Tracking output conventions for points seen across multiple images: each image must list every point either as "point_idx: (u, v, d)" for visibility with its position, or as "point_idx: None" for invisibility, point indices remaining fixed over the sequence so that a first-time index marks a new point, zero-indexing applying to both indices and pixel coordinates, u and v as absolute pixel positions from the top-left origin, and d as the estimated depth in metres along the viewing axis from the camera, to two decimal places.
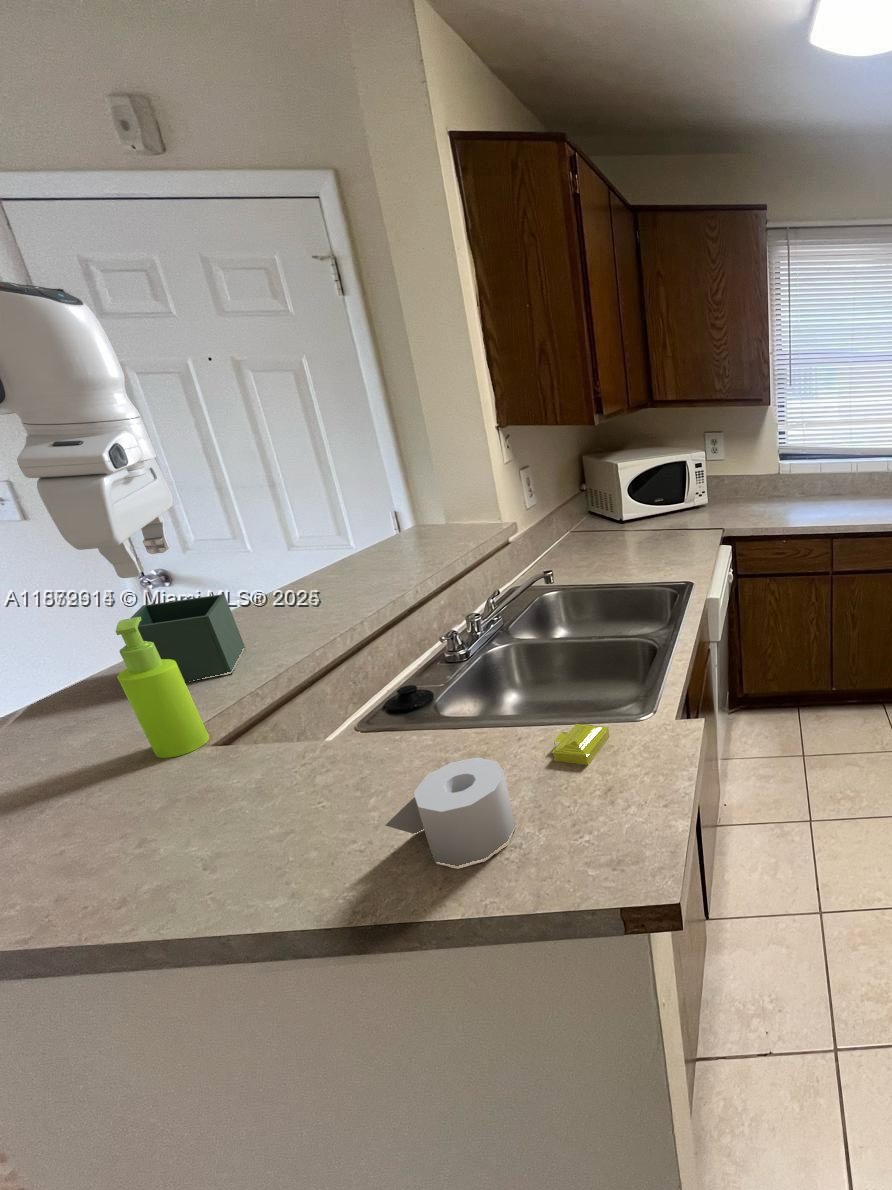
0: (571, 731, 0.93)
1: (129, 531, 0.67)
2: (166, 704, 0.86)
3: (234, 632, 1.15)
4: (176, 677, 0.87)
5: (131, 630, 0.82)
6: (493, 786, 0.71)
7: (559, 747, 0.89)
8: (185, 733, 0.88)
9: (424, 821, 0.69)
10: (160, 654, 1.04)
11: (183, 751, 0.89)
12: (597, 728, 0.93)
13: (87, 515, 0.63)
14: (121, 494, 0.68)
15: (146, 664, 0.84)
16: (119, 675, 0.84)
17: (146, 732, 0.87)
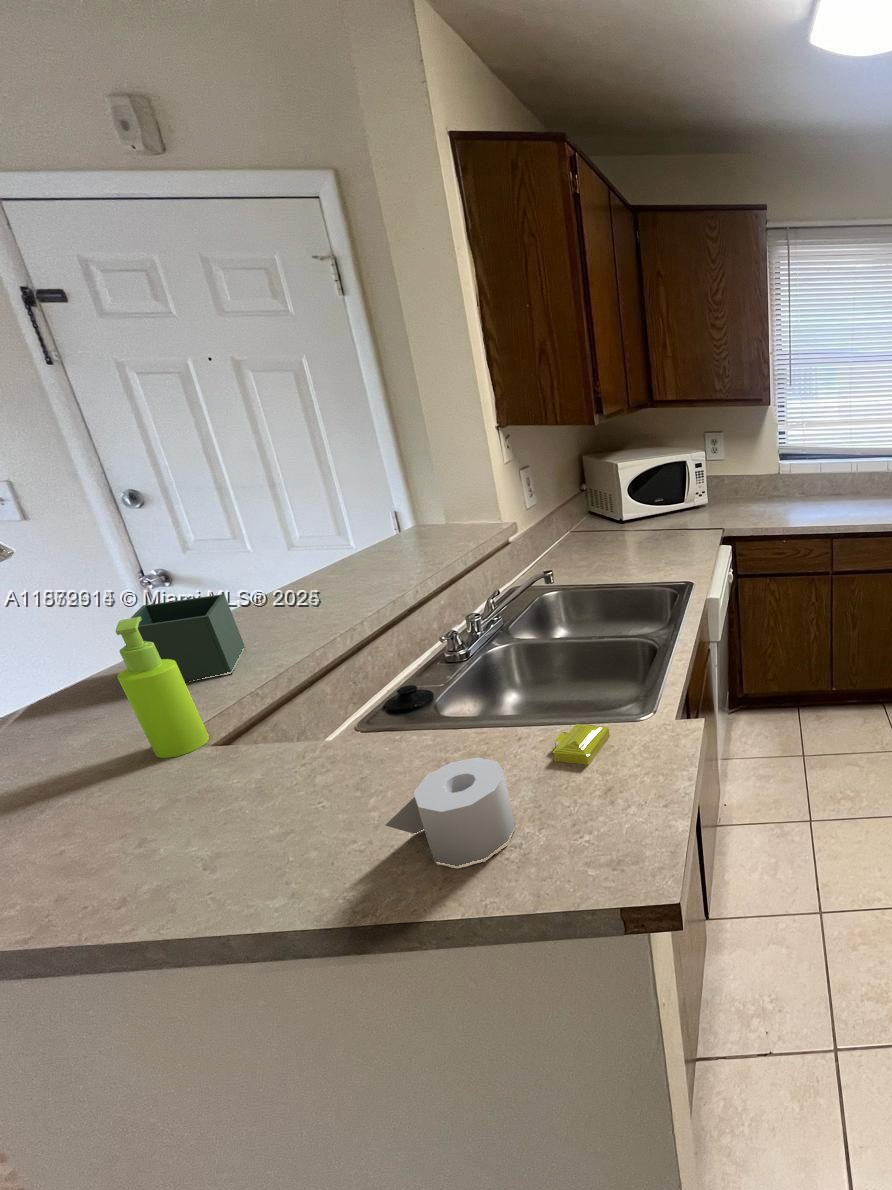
0: (571, 731, 0.93)
1: None
2: (166, 704, 0.86)
3: (234, 632, 1.15)
4: (176, 677, 0.87)
5: (131, 630, 0.82)
6: (493, 786, 0.71)
7: (559, 747, 0.89)
8: (185, 733, 0.88)
9: (424, 821, 0.69)
10: (160, 654, 1.04)
11: (183, 751, 0.89)
12: (597, 728, 0.93)
13: None
14: None
15: (146, 664, 0.84)
16: (119, 675, 0.84)
17: (146, 732, 0.87)
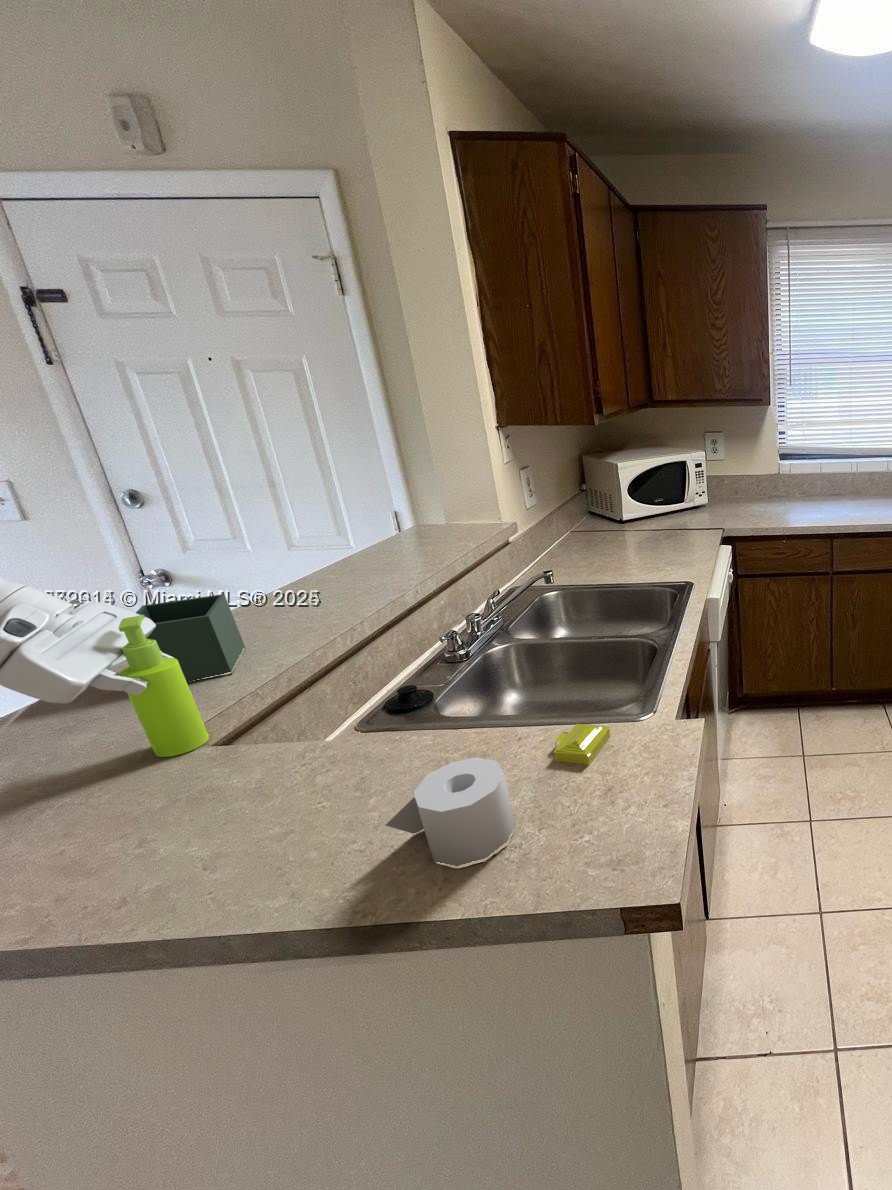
0: (572, 731, 0.93)
1: (92, 669, 0.79)
2: (166, 702, 0.86)
3: (234, 632, 1.15)
4: (177, 675, 0.87)
5: (134, 627, 0.83)
6: (493, 786, 0.71)
7: (560, 747, 0.89)
8: (185, 732, 0.88)
9: (424, 821, 0.69)
10: None
11: (183, 750, 0.89)
12: (598, 728, 0.93)
13: (38, 679, 0.74)
14: (68, 647, 0.79)
15: (148, 662, 0.85)
16: (121, 672, 0.84)
17: (146, 730, 0.87)
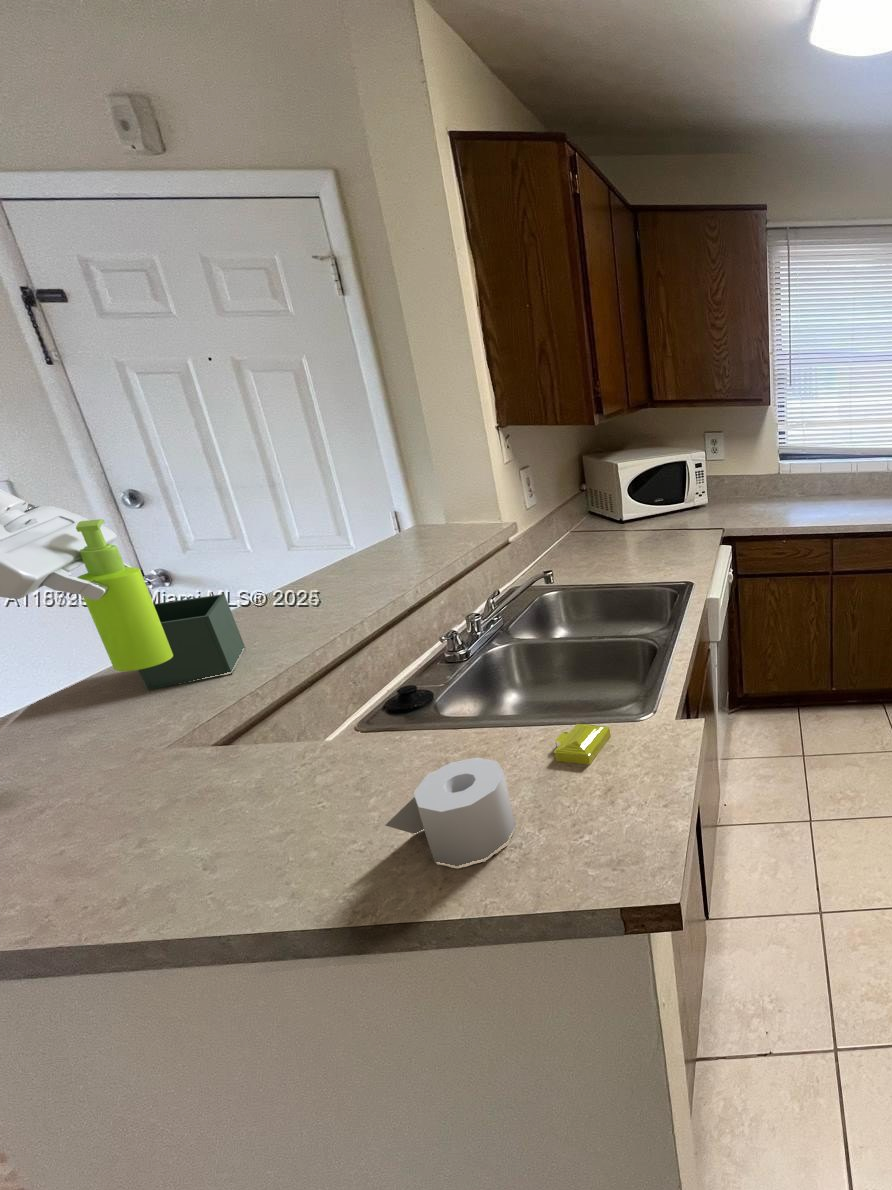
0: (572, 731, 0.93)
1: (46, 566, 0.74)
2: (127, 611, 0.81)
3: (234, 632, 1.15)
4: (139, 583, 0.82)
5: (93, 528, 0.78)
6: (493, 786, 0.71)
7: (560, 747, 0.89)
8: (146, 645, 0.84)
9: (424, 821, 0.69)
10: None
11: (144, 665, 0.84)
12: (598, 728, 0.93)
13: None
14: (19, 543, 0.74)
15: (108, 566, 0.80)
16: (78, 577, 0.79)
17: (105, 642, 0.82)
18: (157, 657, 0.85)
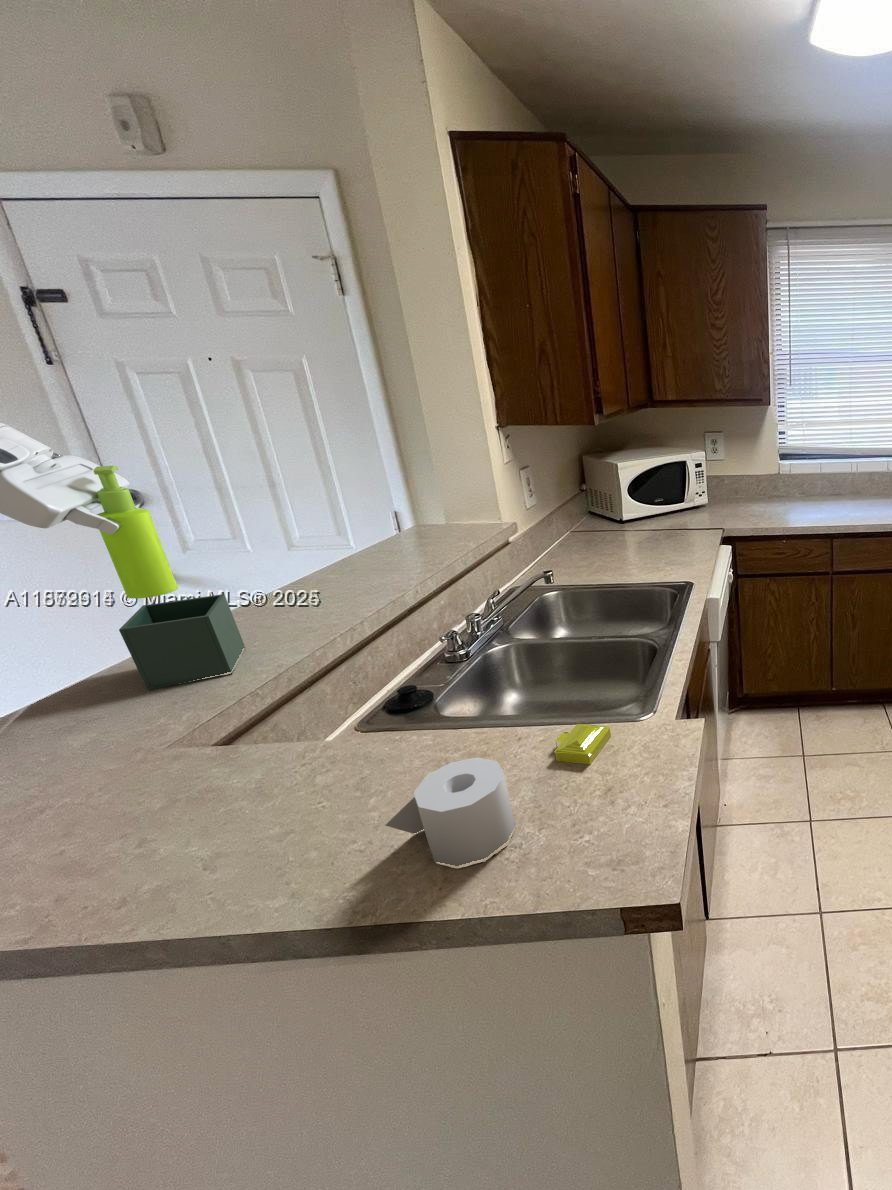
0: (572, 731, 0.93)
1: (68, 502, 0.87)
2: (137, 545, 0.94)
3: (234, 632, 1.15)
4: (148, 522, 0.95)
5: (108, 471, 0.91)
6: (493, 786, 0.71)
7: (561, 747, 0.89)
8: (154, 576, 0.97)
9: (424, 821, 0.69)
10: (160, 654, 1.04)
11: (152, 593, 0.97)
12: (599, 728, 0.93)
13: (18, 501, 0.82)
14: (46, 482, 0.87)
15: (121, 506, 0.93)
16: None
17: (119, 572, 0.95)
18: (164, 587, 0.98)
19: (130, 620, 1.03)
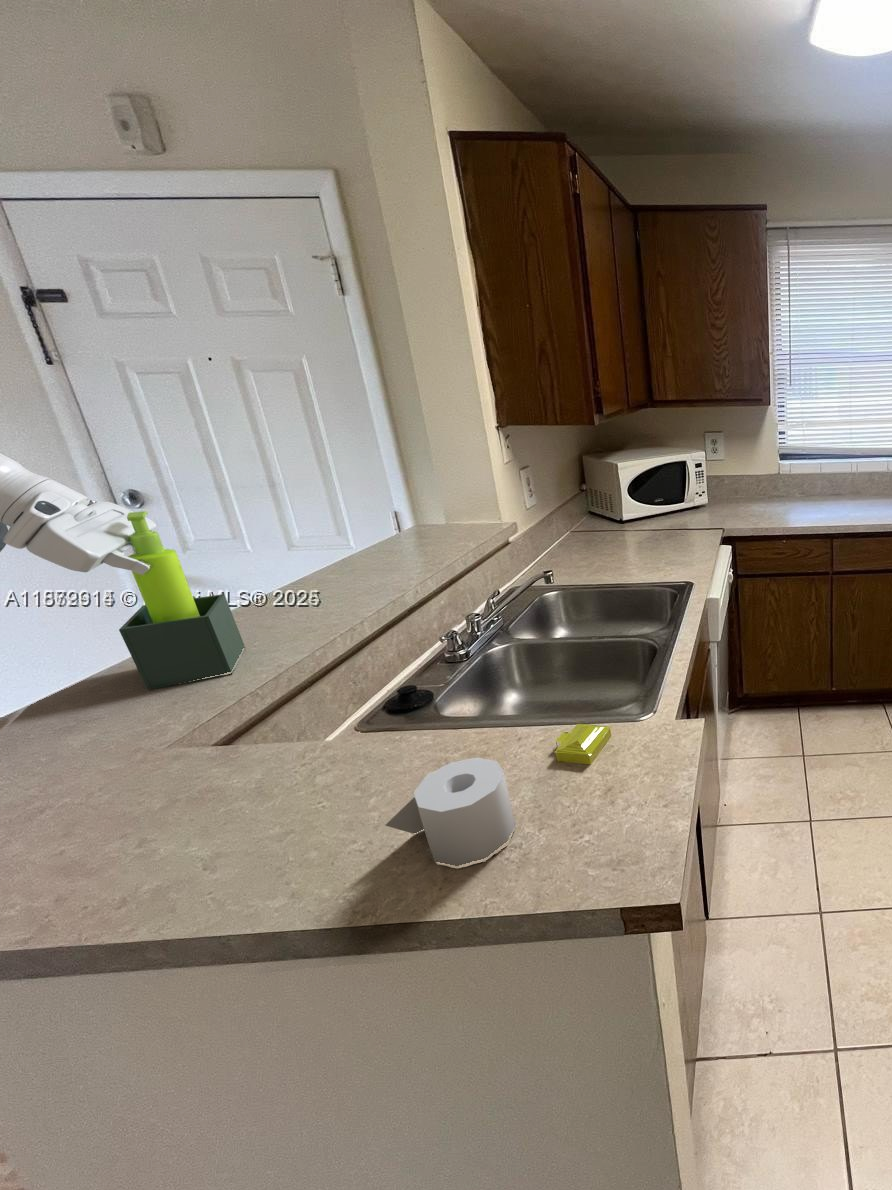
0: (573, 731, 0.93)
1: (105, 547, 0.96)
2: (166, 584, 1.03)
3: (234, 632, 1.15)
4: (175, 562, 1.04)
5: (139, 517, 1.00)
6: (493, 786, 0.71)
7: (561, 747, 0.89)
8: (181, 611, 1.05)
9: (424, 821, 0.69)
10: (160, 654, 1.04)
11: None
12: (599, 728, 0.93)
13: (62, 549, 0.91)
14: (85, 530, 0.96)
15: (151, 548, 1.02)
16: None
17: (149, 608, 1.04)
18: None
19: (130, 620, 1.03)
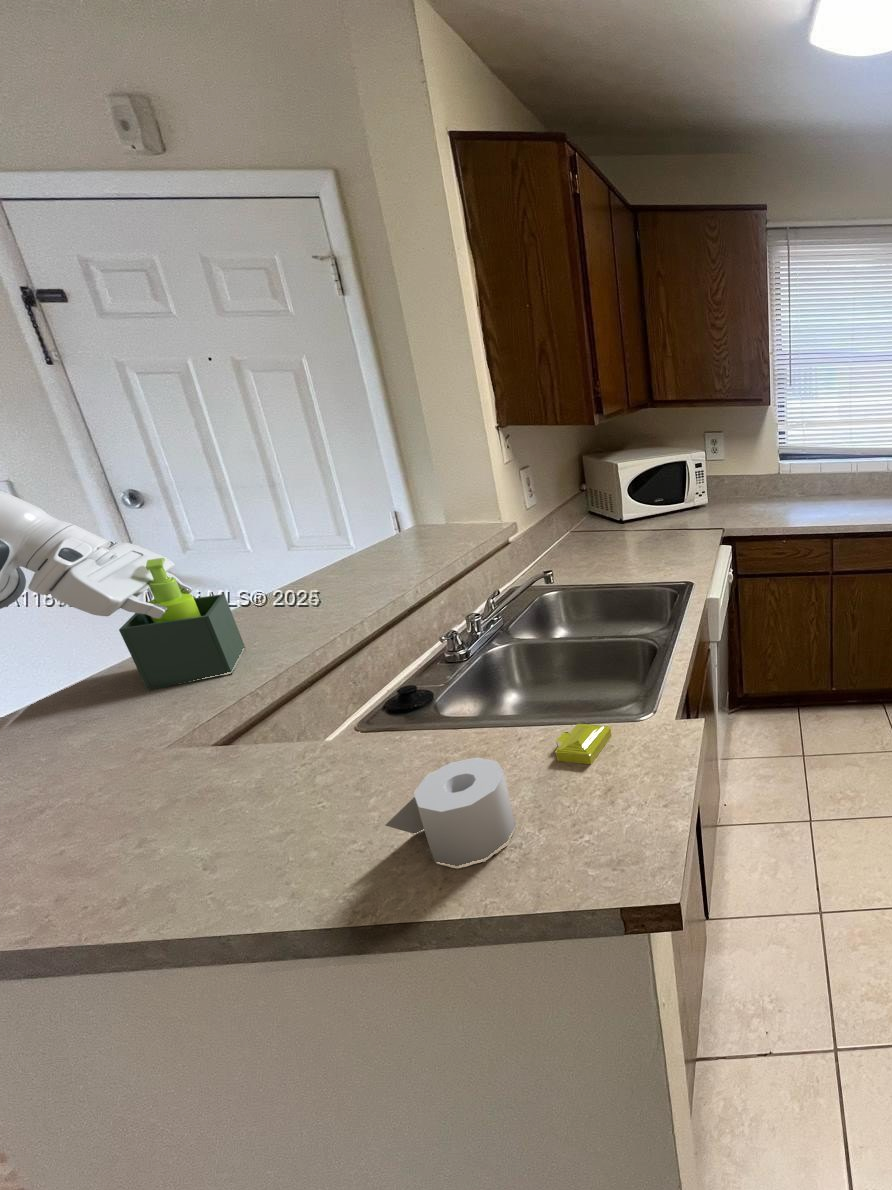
0: (573, 731, 0.93)
1: (126, 591, 0.98)
2: None
3: (234, 632, 1.15)
4: (193, 607, 1.07)
5: (158, 566, 1.03)
6: (493, 786, 0.71)
7: (562, 747, 0.89)
8: None
9: (424, 821, 0.69)
10: (160, 654, 1.04)
11: None
12: (599, 727, 0.93)
13: (85, 595, 0.94)
14: (106, 574, 0.99)
15: (170, 595, 1.05)
16: None
17: None
18: None
19: (130, 620, 1.03)
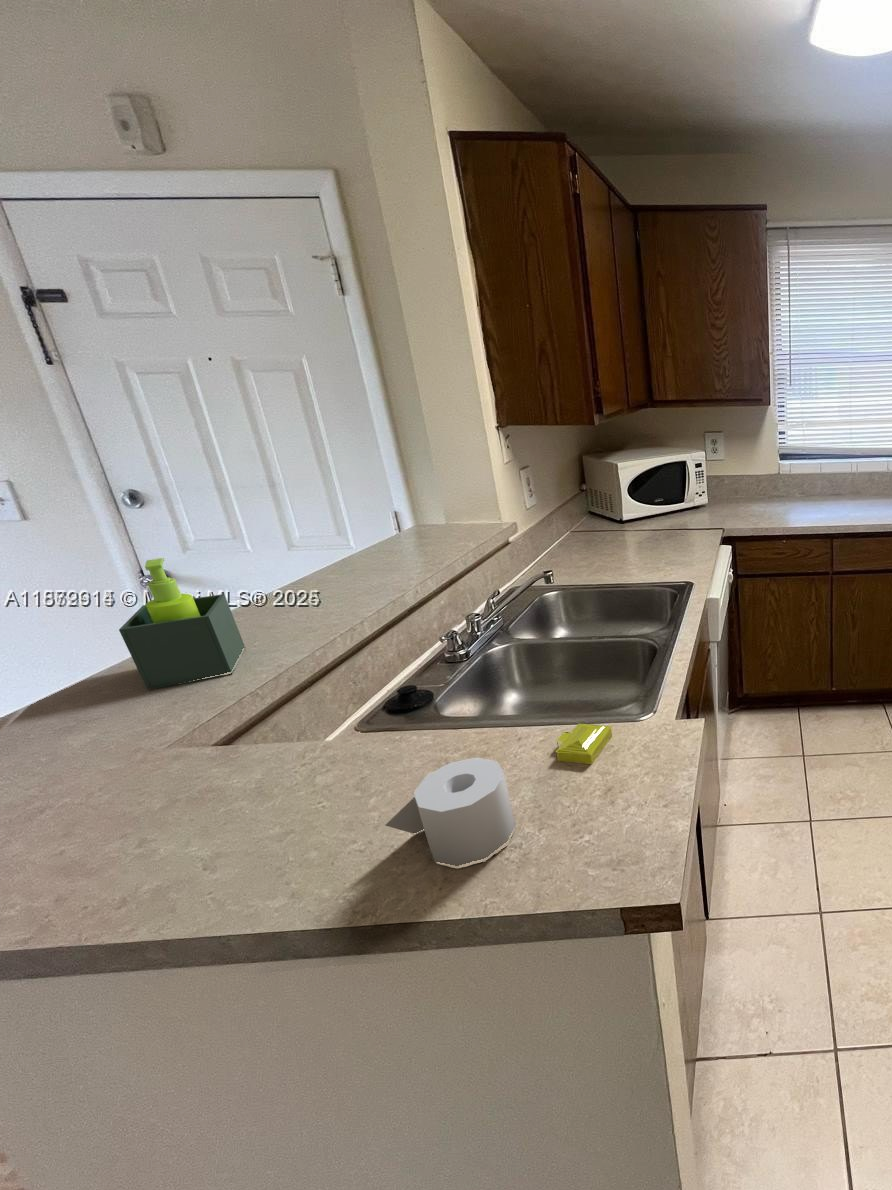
0: (574, 731, 0.93)
1: None
2: None
3: (234, 632, 1.15)
4: (192, 607, 1.07)
5: (157, 566, 1.03)
6: (493, 786, 0.71)
7: (562, 747, 0.89)
8: None
9: (424, 821, 0.69)
10: (160, 654, 1.04)
11: None
12: (600, 727, 0.93)
13: None
14: None
15: (169, 595, 1.04)
16: (147, 604, 1.04)
17: None
18: None
19: (130, 620, 1.03)
